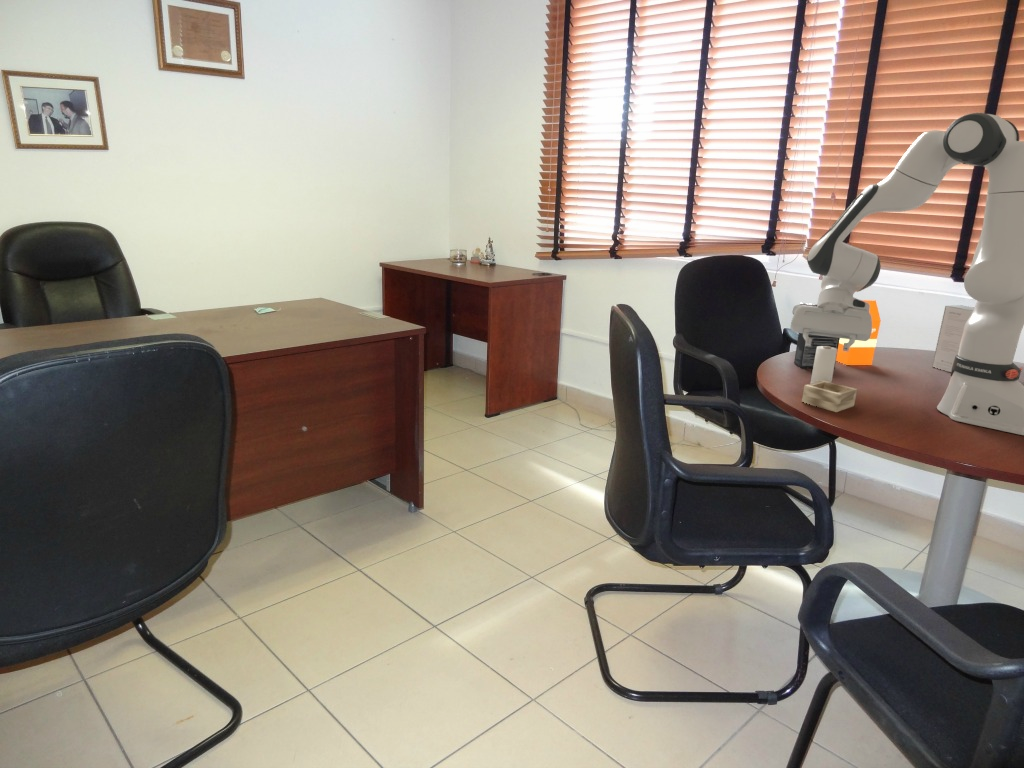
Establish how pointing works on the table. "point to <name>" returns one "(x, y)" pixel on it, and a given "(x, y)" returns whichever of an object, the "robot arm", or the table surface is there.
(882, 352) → the table surface
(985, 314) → the robot arm
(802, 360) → the small box
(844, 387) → the open wooden box
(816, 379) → the paper roll
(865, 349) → the orange juice
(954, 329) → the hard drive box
